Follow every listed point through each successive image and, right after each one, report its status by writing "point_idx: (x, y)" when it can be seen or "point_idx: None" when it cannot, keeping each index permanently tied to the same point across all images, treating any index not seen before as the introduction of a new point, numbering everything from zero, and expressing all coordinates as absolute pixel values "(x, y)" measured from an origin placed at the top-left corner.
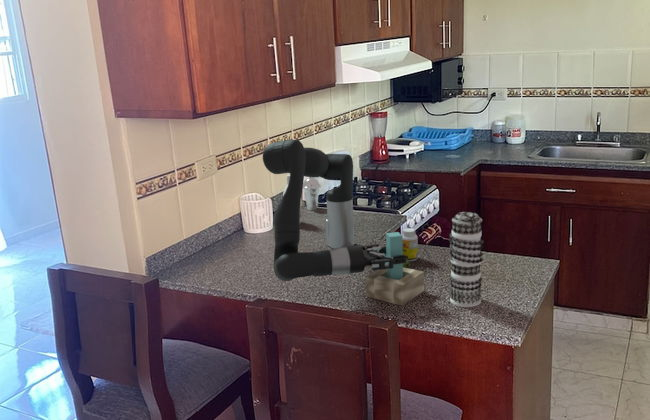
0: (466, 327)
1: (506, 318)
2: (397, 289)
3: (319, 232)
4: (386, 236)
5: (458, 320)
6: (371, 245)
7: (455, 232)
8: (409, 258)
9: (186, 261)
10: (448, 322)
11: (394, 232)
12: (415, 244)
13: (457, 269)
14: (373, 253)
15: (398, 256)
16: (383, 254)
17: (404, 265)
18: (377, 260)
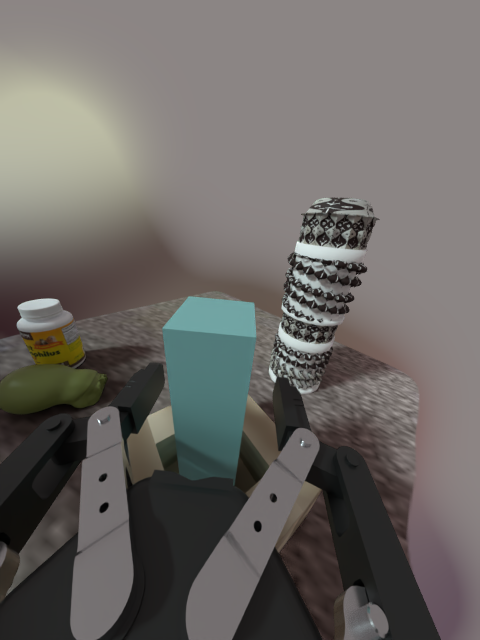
0: (412, 420)
1: (357, 362)
2: (309, 506)
3: None
4: (175, 346)
5: (382, 419)
6: (11, 471)
7: (350, 248)
8: (74, 363)
9: None
10: (399, 441)
11: (185, 304)
12: (75, 329)
13: (329, 333)
14: (252, 592)
15: (293, 403)
16: (284, 478)
17: (100, 387)
18: (402, 621)
